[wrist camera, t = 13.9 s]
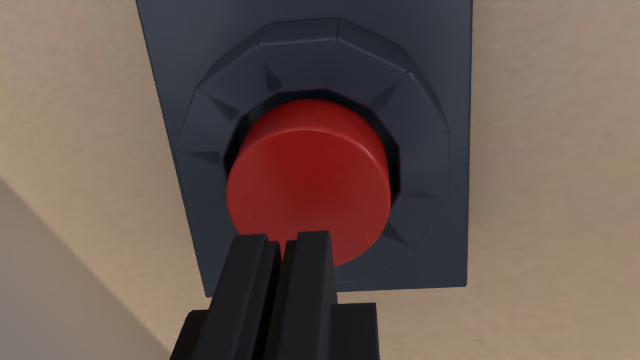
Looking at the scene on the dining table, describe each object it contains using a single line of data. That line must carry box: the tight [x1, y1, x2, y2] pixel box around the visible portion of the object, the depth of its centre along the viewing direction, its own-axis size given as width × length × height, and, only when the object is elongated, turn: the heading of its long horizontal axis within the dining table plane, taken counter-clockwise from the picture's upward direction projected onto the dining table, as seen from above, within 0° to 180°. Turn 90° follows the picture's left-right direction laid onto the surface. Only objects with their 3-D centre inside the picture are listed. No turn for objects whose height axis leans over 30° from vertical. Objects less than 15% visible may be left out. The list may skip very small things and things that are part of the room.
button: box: [226, 99, 391, 266], centre depth 14 cm, size 4×4×2 cm
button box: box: [135, 0, 473, 297], centre depth 16 cm, size 10×8×4 cm
